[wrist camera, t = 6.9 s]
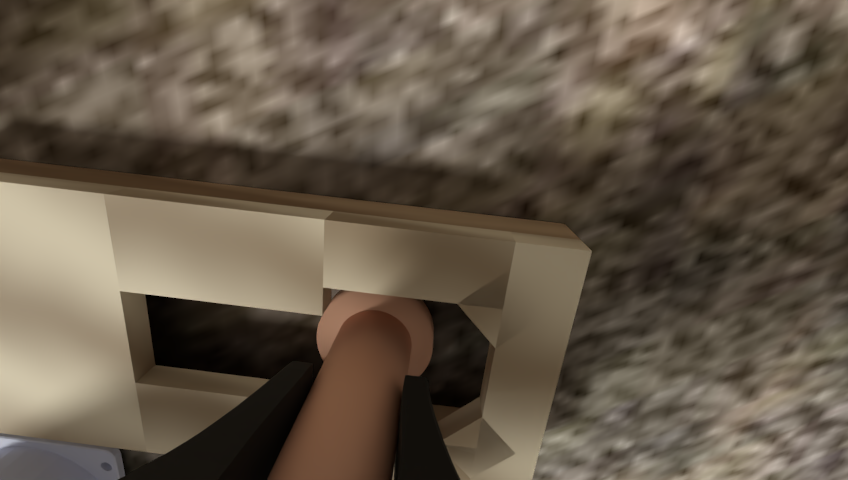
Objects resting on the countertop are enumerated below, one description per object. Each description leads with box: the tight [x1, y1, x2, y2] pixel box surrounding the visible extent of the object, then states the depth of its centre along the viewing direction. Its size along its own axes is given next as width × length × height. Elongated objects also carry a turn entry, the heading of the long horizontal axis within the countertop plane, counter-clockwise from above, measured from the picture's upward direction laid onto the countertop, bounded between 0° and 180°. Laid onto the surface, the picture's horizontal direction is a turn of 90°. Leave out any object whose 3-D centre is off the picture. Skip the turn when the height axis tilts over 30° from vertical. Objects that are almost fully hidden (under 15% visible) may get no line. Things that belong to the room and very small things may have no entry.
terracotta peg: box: [267, 290, 434, 480], centre depth 11 cm, size 4×4×10 cm
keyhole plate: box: [0, 158, 592, 480], centre depth 14 cm, size 10×22×3 cm, turn 84°
